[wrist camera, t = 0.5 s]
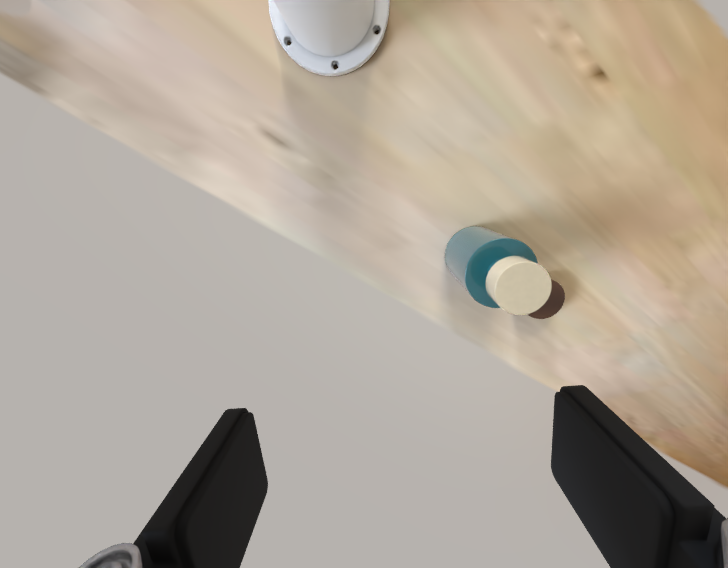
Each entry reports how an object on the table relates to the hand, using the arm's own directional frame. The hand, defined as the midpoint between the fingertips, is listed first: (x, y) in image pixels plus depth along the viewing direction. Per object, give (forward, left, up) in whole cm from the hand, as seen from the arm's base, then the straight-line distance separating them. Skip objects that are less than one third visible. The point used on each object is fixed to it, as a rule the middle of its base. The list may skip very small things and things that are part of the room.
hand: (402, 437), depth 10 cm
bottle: (+2, +12, -34) cm, 36 cm away
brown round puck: (+8, +20, -34) cm, 40 cm away
